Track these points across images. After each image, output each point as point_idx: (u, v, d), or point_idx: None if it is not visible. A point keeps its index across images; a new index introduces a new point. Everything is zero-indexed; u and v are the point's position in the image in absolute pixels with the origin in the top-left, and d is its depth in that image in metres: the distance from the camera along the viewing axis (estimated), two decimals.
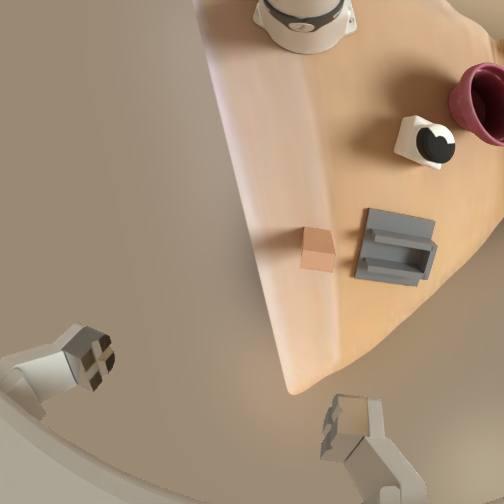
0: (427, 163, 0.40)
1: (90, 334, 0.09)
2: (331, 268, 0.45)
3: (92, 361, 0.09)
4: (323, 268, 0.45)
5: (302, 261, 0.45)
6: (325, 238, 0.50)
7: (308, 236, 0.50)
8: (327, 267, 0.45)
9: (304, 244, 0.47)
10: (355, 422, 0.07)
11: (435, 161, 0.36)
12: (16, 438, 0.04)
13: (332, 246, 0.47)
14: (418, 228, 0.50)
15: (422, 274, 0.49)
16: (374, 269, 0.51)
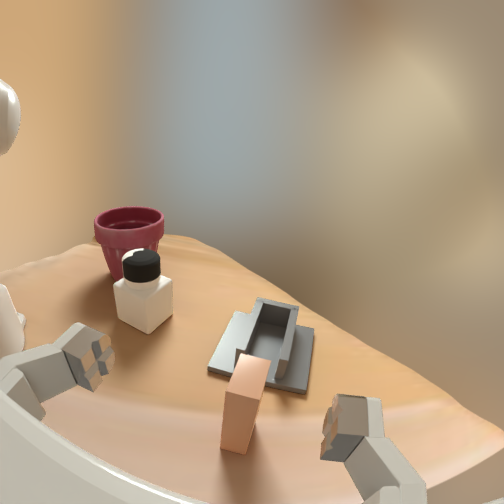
0: (161, 286, 0.45)
1: (90, 334, 0.09)
2: (264, 360, 0.27)
3: (92, 361, 0.09)
4: (263, 369, 0.26)
5: (247, 395, 0.23)
6: None
7: None
8: (262, 364, 0.27)
9: None
10: (355, 422, 0.07)
11: (155, 261, 0.42)
12: (16, 438, 0.04)
13: None
14: (240, 324, 0.48)
15: (292, 310, 0.47)
16: (285, 353, 0.38)
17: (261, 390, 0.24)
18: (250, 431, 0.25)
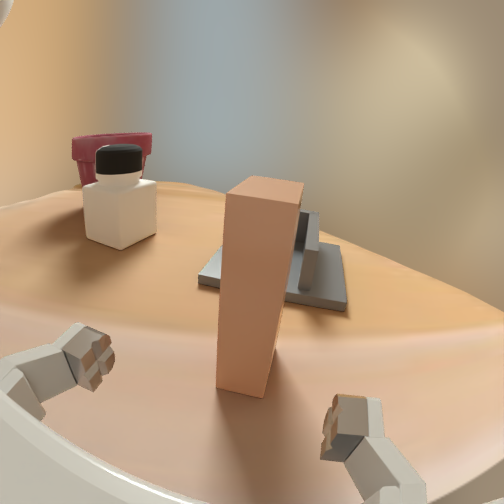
0: (142, 185, 0.34)
1: (90, 334, 0.09)
2: (292, 182, 0.16)
3: (92, 361, 0.09)
4: (294, 186, 0.15)
5: (271, 199, 0.12)
6: None
7: None
8: (290, 183, 0.16)
9: None
10: (355, 422, 0.07)
11: (135, 149, 0.31)
12: (16, 438, 0.04)
13: None
14: None
15: (311, 214, 0.36)
16: (311, 244, 0.27)
17: (297, 198, 0.13)
18: (275, 322, 0.14)
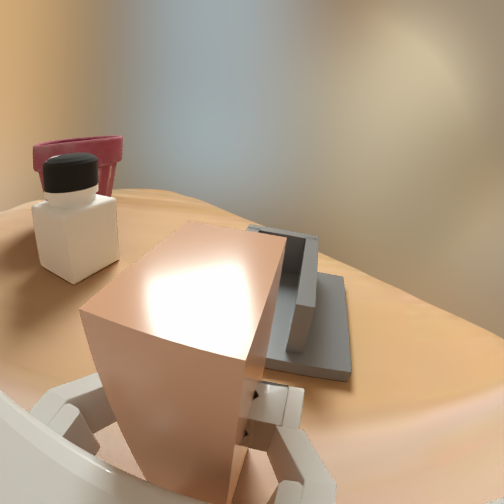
0: (96, 203, 0.26)
1: None
2: (263, 236, 0.08)
3: None
4: (261, 254, 0.07)
5: (177, 335, 0.04)
6: None
7: None
8: (255, 243, 0.08)
9: None
10: (269, 410, 0.07)
11: (86, 159, 0.24)
12: (16, 438, 0.04)
13: None
14: None
15: (308, 239, 0.28)
16: (306, 294, 0.19)
17: (254, 316, 0.05)
18: (224, 489, 0.06)
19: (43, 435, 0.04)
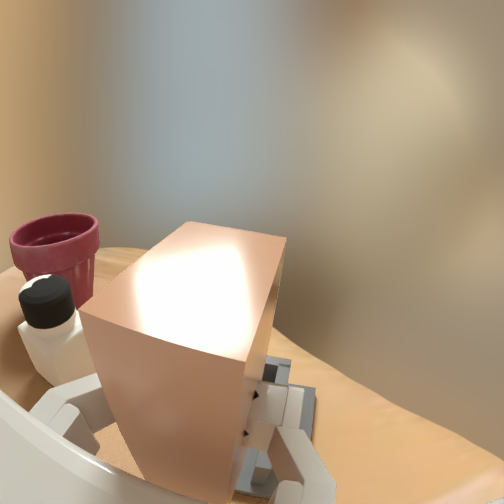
0: (76, 332, 0.25)
1: None
2: (263, 236, 0.08)
3: None
4: (261, 254, 0.07)
5: (176, 336, 0.04)
6: None
7: None
8: (255, 244, 0.08)
9: None
10: (269, 409, 0.07)
11: (58, 297, 0.23)
12: (16, 438, 0.04)
13: None
14: None
15: (280, 368, 0.28)
16: (265, 454, 0.19)
17: (254, 317, 0.05)
18: (223, 490, 0.06)
19: (43, 435, 0.04)
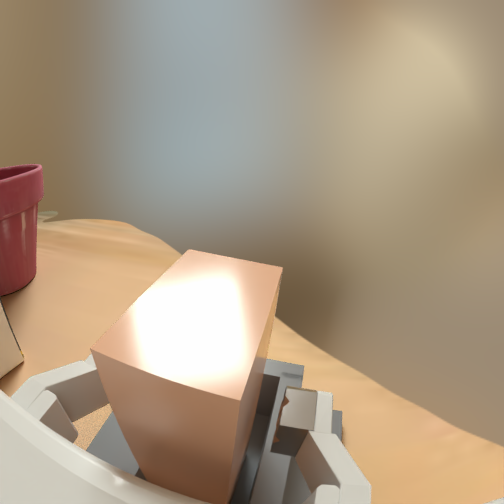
0: None
1: None
2: (260, 266, 0.09)
3: None
4: (257, 288, 0.08)
5: (180, 376, 0.05)
6: None
7: None
8: (253, 276, 0.08)
9: None
10: (300, 415, 0.07)
11: None
12: (16, 438, 0.04)
13: None
14: None
15: (283, 381, 0.15)
16: None
17: (249, 357, 0.05)
18: (223, 497, 0.07)
19: (43, 435, 0.04)
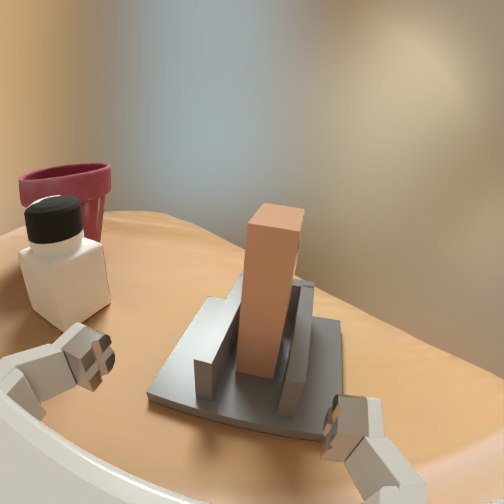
0: (82, 252, 0.25)
1: (90, 334, 0.09)
2: (295, 208, 0.21)
3: (92, 361, 0.09)
4: (296, 213, 0.20)
5: (280, 227, 0.17)
6: None
7: None
8: (293, 210, 0.20)
9: (245, 260, 0.18)
10: (355, 422, 0.07)
11: (68, 207, 0.22)
12: (16, 438, 0.04)
13: None
14: (215, 318, 0.28)
15: (303, 288, 0.27)
16: (297, 366, 0.18)
17: (299, 225, 0.18)
18: (283, 316, 0.19)
19: (43, 435, 0.04)
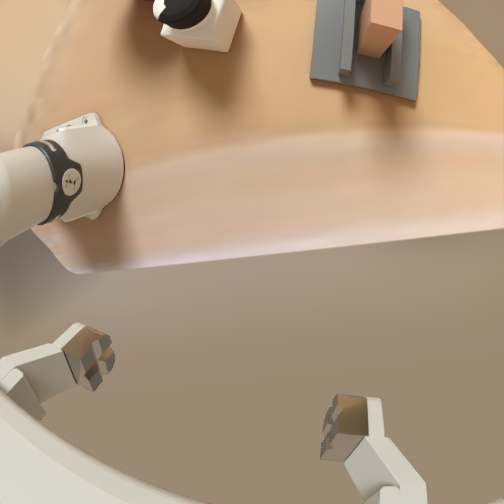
0: (219, 8, 0.25)
1: (90, 334, 0.09)
2: None
3: (92, 361, 0.09)
4: None
5: (390, 25, 0.18)
6: (363, 14, 0.23)
7: (361, 35, 0.24)
8: None
9: (366, 28, 0.20)
10: (355, 422, 0.07)
11: None
12: (16, 438, 0.04)
13: None
14: (331, 9, 0.27)
15: None
16: (395, 70, 0.26)
17: (401, 20, 0.17)
18: (387, 46, 0.23)
19: (43, 435, 0.04)
